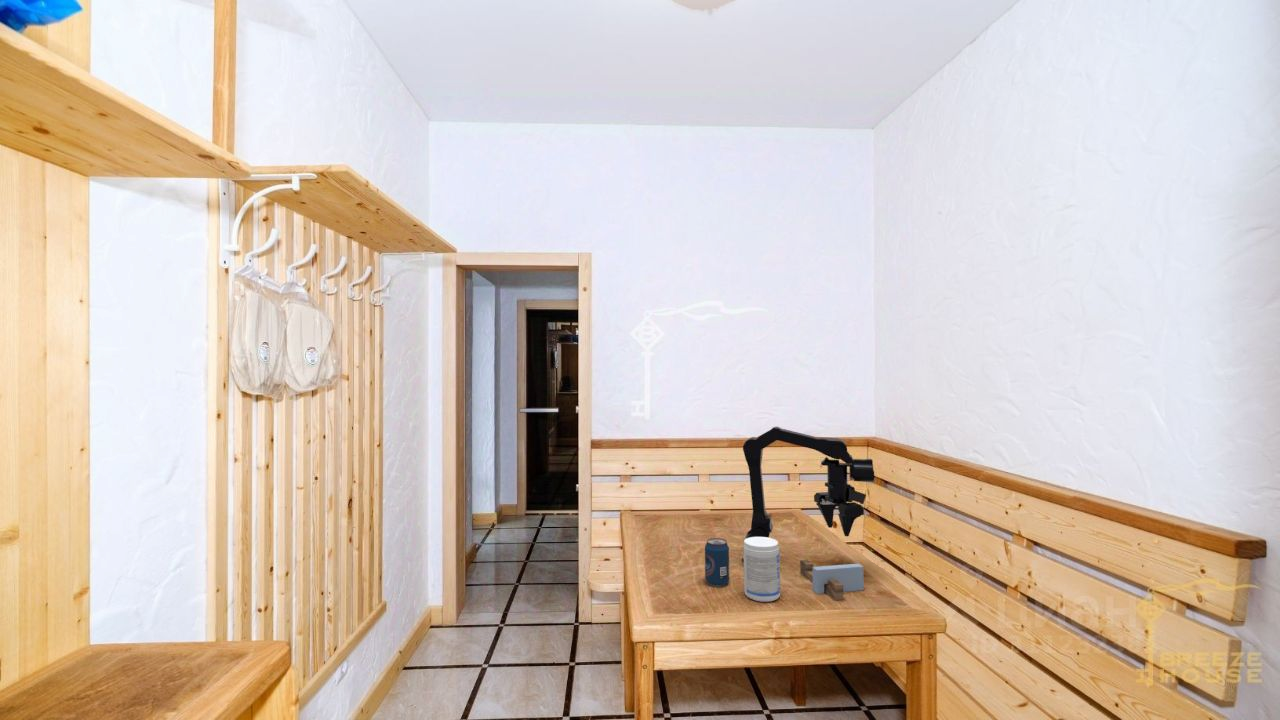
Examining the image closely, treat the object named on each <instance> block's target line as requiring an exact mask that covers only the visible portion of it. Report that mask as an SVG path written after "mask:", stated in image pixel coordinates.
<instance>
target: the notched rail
mask: <svg viewBox="0 0 1280 720" xmlns="http://www.w3.org/2000/svg"><path fill="white" fill-rule="evenodd" d="M813 567H814V563H813V562H812V561H810V560H809V559H799V569H800V570H799V573H800V575H802V576H803V577H805V578H806V579H807V580H808V581H810V582H811V583H812V584H813ZM844 593H845V592H844V591H843V584H842V583H840V582H839V581H837V580H836V579H831V580H828V584H824V594H827V595H828V596H829V597H831V598H832V599H833V598H834V599H833V600H834V601H836V600H837V601H843V600H845V599H844V598H845V595H844Z"/></svg>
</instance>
